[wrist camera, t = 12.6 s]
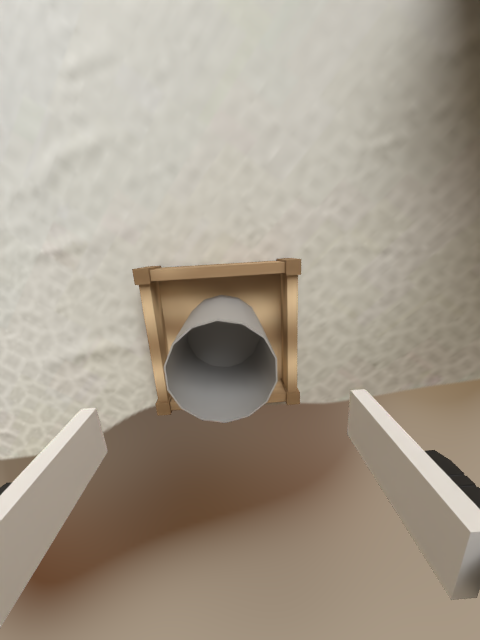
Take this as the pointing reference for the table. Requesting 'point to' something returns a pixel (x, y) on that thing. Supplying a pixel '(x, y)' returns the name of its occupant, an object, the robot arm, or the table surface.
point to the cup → (221, 362)
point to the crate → (230, 280)
